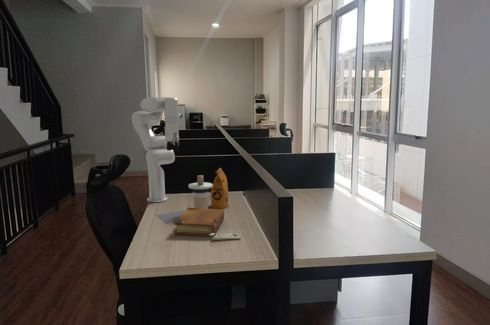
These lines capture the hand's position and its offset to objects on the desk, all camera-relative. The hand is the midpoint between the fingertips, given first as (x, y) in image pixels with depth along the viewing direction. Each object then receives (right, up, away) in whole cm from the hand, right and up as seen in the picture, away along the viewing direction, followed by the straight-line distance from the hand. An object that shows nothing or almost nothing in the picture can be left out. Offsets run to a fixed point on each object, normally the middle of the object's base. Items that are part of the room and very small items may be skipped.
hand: (172, 151), depth 207 cm
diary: (+19, -38, -26) cm, 50 cm away
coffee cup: (+16, -34, -3) cm, 38 cm away
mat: (+3, -36, -11) cm, 37 cm away
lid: (+16, -19, -6) cm, 26 cm away
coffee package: (+25, -32, +10) cm, 42 cm away
